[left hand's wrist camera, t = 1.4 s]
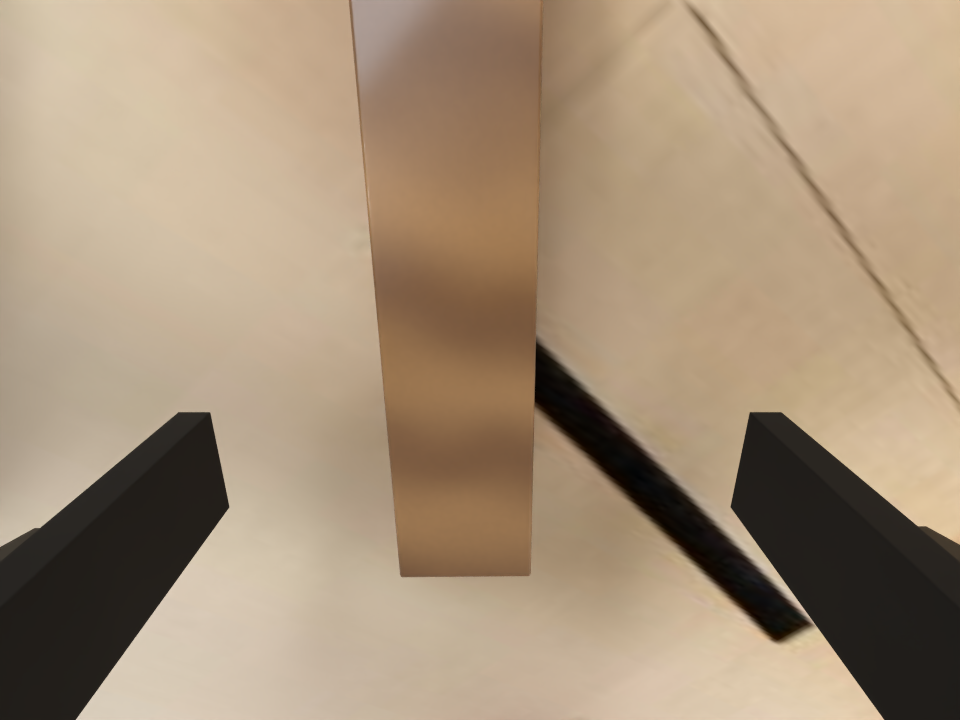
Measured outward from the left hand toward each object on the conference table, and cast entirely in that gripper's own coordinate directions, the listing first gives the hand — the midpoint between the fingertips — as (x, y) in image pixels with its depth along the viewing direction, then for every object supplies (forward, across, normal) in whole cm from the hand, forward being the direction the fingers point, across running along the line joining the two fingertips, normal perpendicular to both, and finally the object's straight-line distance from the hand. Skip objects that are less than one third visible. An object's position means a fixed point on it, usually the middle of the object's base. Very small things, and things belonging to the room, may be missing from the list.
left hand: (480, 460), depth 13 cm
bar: (+13, +1, -22) cm, 25 cm away
